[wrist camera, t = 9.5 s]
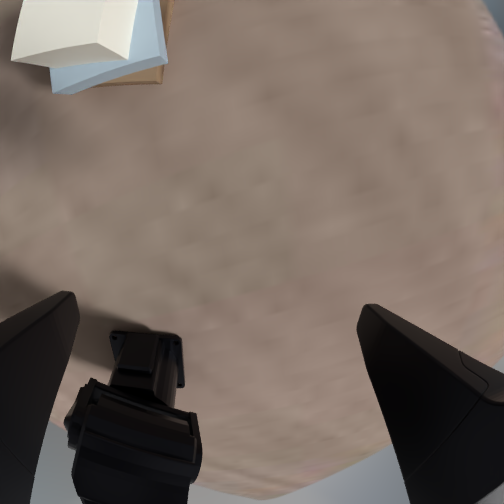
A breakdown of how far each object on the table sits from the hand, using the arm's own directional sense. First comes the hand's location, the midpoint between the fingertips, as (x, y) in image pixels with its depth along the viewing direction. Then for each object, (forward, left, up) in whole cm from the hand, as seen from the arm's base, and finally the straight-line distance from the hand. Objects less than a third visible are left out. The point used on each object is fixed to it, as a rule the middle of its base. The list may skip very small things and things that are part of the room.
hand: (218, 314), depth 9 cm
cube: (+11, +8, -9) cm, 16 cm away
